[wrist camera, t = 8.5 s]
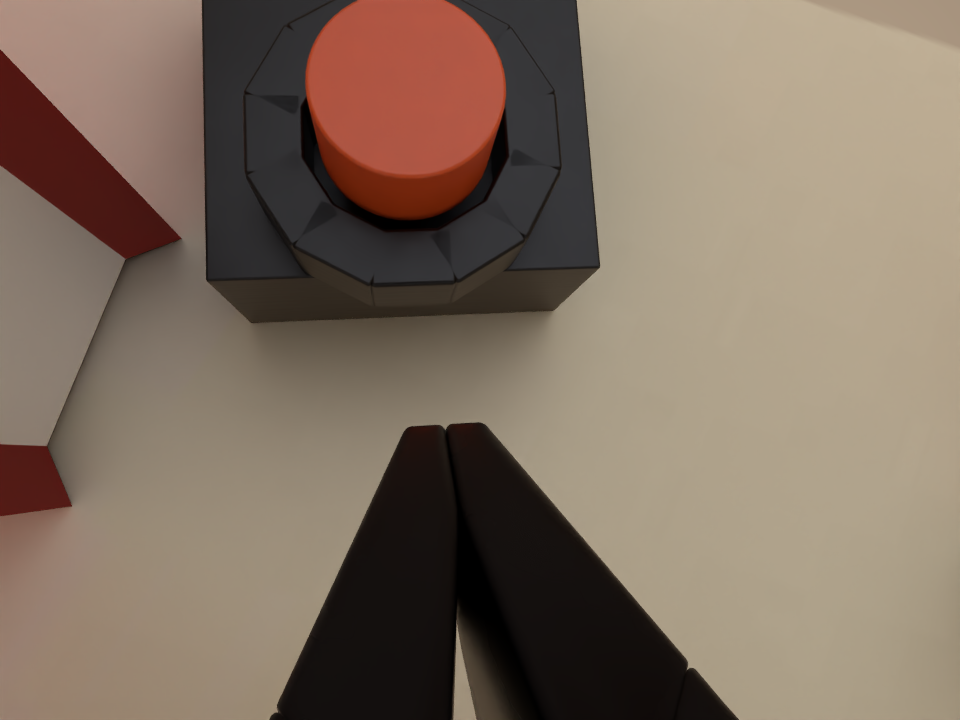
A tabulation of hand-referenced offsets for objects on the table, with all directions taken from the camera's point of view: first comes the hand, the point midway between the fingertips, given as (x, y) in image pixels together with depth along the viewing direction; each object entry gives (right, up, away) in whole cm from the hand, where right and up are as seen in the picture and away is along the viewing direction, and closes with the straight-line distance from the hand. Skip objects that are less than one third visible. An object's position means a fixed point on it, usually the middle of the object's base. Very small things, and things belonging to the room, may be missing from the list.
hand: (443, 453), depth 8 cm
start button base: (-2, +7, +14) cm, 16 cm away
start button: (-1, +6, +7) cm, 9 cm away
